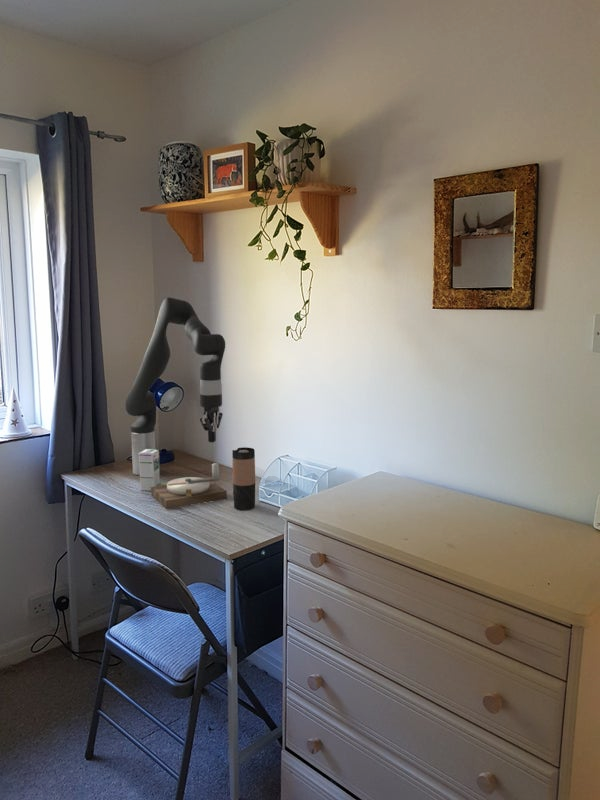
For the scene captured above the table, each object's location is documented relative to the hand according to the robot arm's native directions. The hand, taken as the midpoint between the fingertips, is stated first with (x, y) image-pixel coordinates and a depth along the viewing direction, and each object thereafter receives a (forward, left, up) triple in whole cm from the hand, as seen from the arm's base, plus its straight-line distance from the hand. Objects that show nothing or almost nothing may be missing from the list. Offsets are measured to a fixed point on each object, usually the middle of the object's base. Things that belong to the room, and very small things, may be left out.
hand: (212, 441), depth 223 cm
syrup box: (-24, -16, -21) cm, 36 cm away
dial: (-7, -5, -18) cm, 20 cm away
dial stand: (-7, -7, -21) cm, 23 cm away
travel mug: (+13, +6, -21) cm, 25 cm away
